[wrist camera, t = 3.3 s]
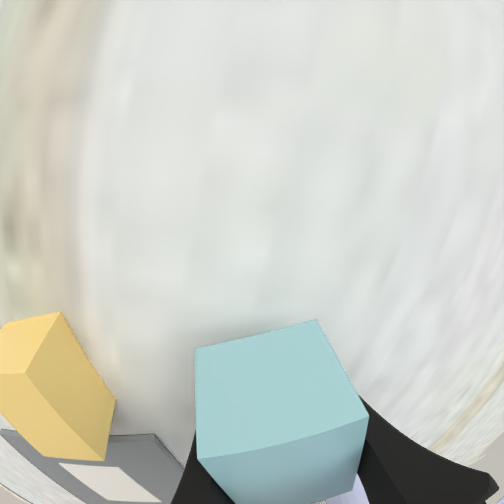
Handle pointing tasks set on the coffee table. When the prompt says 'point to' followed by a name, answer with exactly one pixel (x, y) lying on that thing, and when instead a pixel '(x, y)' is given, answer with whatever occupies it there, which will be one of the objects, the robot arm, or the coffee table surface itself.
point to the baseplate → (111, 470)
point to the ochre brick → (53, 389)
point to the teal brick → (278, 417)
